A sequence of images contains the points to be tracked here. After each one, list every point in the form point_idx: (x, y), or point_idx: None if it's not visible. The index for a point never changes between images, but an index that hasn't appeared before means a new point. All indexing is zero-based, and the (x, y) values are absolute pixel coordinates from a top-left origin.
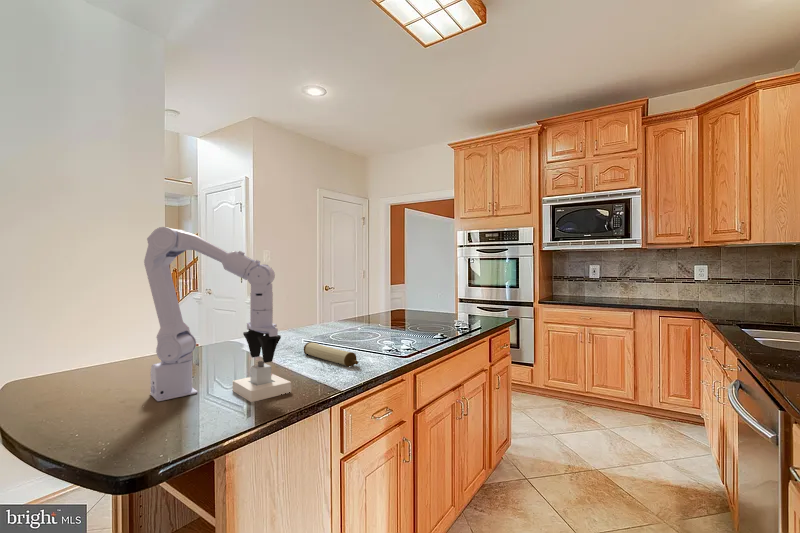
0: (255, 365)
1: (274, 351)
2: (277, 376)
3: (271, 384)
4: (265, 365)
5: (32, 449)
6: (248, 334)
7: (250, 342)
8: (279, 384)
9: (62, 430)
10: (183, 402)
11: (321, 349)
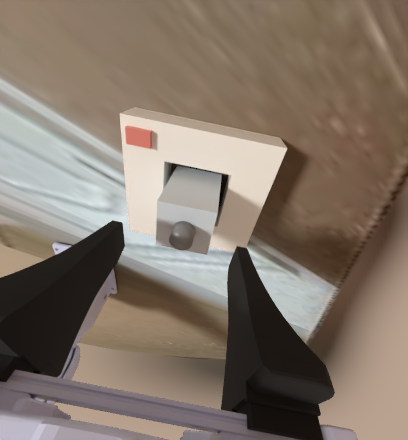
0: (160, 233)
1: (262, 283)
2: (186, 131)
3: (245, 201)
4: (189, 217)
5: (176, 356)
6: (58, 366)
7: (85, 309)
8: (268, 189)
9: (147, 342)
10: (143, 279)
11: None
